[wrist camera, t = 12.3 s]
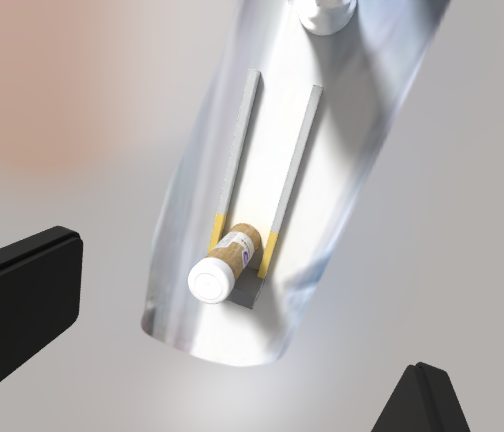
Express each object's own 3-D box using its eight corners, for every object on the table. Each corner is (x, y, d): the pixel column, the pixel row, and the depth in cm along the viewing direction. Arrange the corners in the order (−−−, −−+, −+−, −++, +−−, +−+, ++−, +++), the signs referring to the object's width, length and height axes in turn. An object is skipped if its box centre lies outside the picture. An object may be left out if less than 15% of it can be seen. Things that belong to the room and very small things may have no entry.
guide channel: (252, 69, 38) (237, 62, 33) (323, 87, 37) (319, 84, 31) (208, 265, 48) (190, 285, 43) (262, 285, 47) (251, 309, 41)
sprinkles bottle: (265, 248, 45) (235, 301, 32) (236, 256, 46) (196, 309, 34) (253, 217, 44) (218, 260, 32) (224, 226, 45) (179, 270, 33)
